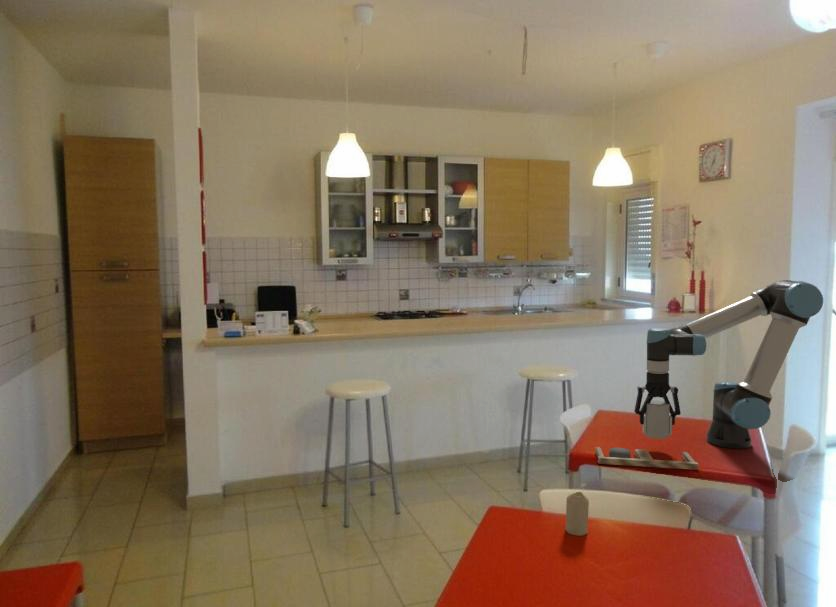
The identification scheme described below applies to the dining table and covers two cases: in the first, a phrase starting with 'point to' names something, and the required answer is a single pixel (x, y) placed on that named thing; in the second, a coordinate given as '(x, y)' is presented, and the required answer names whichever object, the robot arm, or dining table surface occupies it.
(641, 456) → the slot rack
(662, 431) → the grey cylinder
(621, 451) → the puck
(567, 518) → the candle
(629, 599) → the dining table surface
